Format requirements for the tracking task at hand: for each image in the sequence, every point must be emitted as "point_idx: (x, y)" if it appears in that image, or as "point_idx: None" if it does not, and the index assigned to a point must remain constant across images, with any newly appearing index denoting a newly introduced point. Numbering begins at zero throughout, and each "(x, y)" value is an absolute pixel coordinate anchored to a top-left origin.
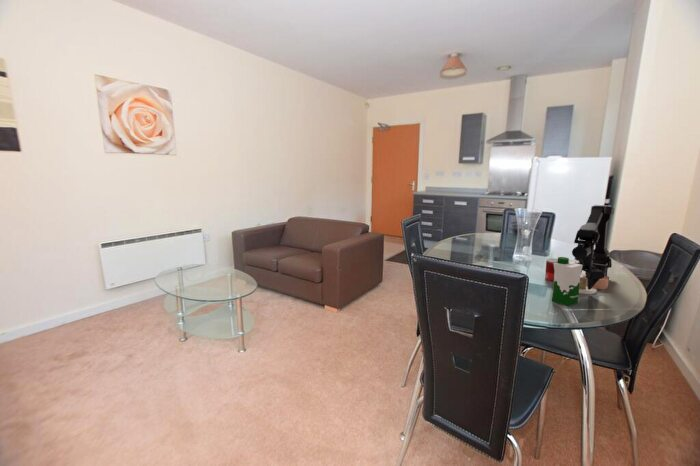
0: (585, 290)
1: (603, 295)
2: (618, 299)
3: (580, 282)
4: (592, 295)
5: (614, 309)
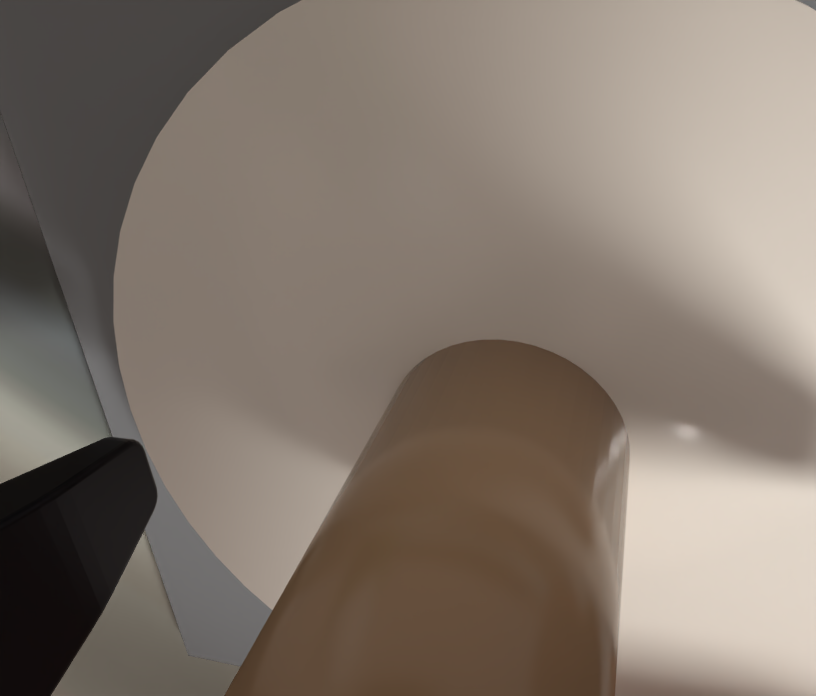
0: (286, 400)
1: (166, 585)
2: (81, 660)
3: (364, 530)
4: (106, 380)
5: None
